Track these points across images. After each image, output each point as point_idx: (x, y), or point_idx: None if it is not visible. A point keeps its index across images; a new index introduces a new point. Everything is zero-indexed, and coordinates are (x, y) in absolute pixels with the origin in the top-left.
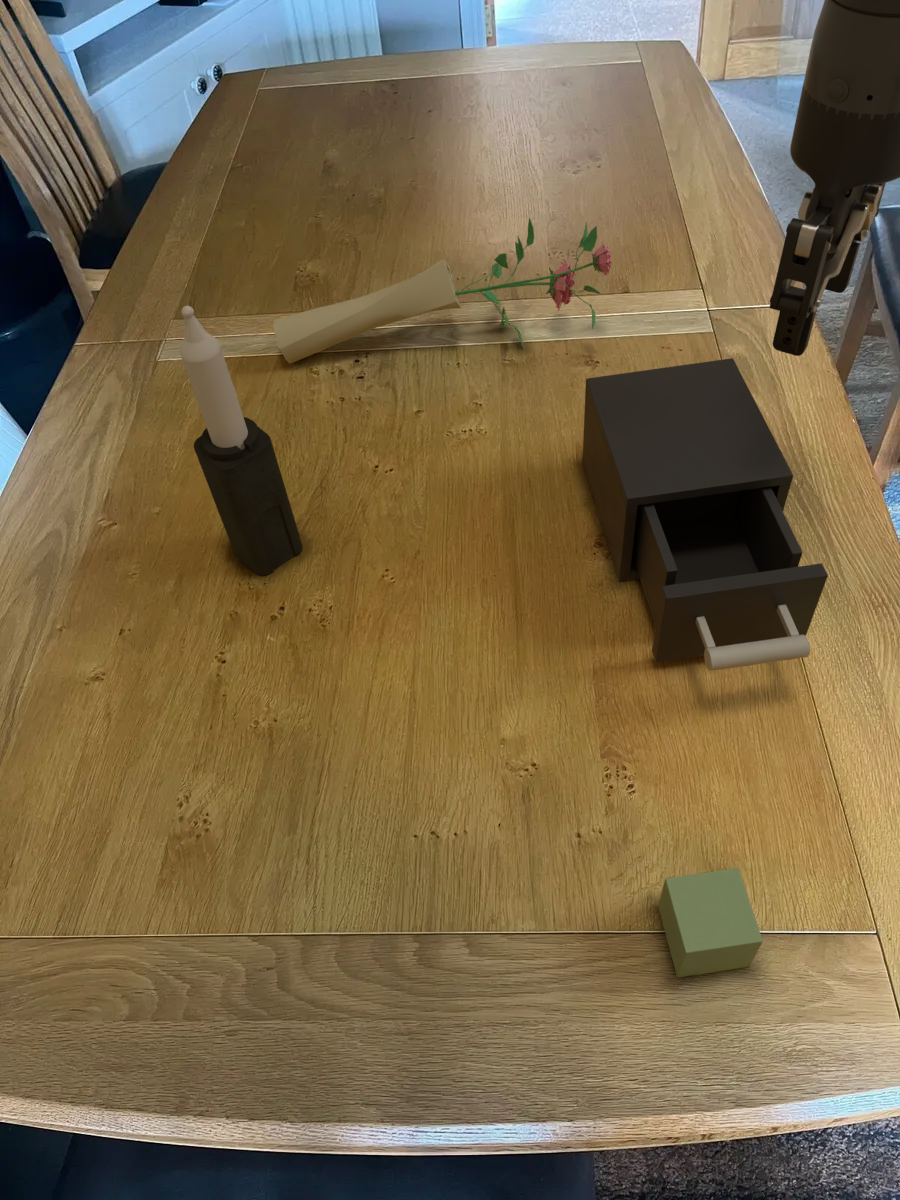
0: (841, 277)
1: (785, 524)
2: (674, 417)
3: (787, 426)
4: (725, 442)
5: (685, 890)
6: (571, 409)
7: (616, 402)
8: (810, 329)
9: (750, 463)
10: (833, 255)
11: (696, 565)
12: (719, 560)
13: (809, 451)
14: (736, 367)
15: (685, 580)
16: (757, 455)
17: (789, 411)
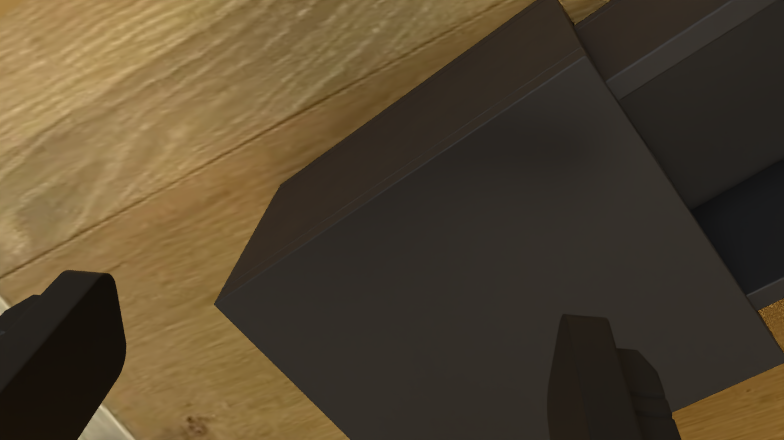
0: (80, 327)
1: (732, 12)
2: (480, 353)
3: (155, 78)
4: (523, 237)
5: None
6: (322, 416)
7: None
8: (608, 389)
9: (579, 165)
10: (43, 437)
11: (675, 124)
12: (645, 87)
13: (200, 13)
14: (242, 288)
15: (721, 129)
16: (542, 158)
17: (110, 88)
